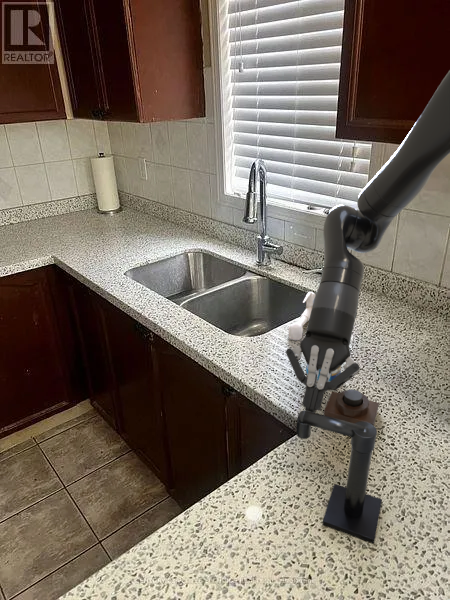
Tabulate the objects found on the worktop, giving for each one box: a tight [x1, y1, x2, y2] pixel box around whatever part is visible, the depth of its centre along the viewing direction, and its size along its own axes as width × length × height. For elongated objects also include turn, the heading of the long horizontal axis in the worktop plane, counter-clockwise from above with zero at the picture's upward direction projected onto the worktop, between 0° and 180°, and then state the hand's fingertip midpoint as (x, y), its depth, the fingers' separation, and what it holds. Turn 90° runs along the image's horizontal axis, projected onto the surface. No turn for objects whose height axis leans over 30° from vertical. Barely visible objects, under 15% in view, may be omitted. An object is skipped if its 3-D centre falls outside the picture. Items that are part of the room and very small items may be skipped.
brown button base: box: [323, 389, 380, 427], centre depth 94 cm, size 10×7×4 cm
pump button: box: [344, 388, 363, 407], centre depth 93 cm, size 4×4×2 cm
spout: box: [295, 409, 378, 453], centre depth 68 cm, size 12×3×4 cm, turn 65°
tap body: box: [322, 446, 383, 545], centre depth 70 cm, size 8×8×15 cm
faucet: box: [288, 291, 316, 341], centre depth 127 cm, size 4×18×10 cm, turn 153°
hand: (310, 411), depth 73 cm, fingers closed
